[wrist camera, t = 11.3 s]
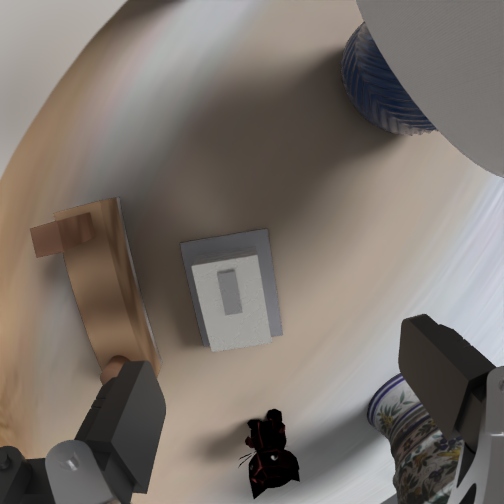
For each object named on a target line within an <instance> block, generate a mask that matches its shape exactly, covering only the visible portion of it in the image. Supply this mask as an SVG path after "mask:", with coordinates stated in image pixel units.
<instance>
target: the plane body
mask: <svg viewBox="0 0 504 504" xmlns="http://www.w3.org/2000/svg"><path fill="white" fill-rule="evenodd" d="M54 217H55V222H51V223H48V224H44V225H41V226H38V227H34V228H31V229H30V231H31V236H32V240H33V245H34V249H35V253H36V257H37V258H38V257H43V256H47V255H52V254H56V253H61V252H62V253H63V256H64V260H65V264H66V268H67V272H68V275H69V279H70V282H71V286H72V289H73V292H74V296H75V299H76V302H77V305H78V308H79V311H80V314H81V317H82V320H83V323H84V326H85V329H86V331H87V334H88V337H89V339H90V342H91V345H92V347H93V350H94V352H95V355H96V357H97V360H98V362H99V365H100V367H101V370H102V373H101V376H100V380H101V383H102V384H103V385H104V384H106V383H107V382H108V381H109V380H110V379H111V378H112V377H117V375H118V373H119V372H120V370H121V368H122V366H123V364H124V363H125V362H128V361H145V360H148V361H149V362H150V363H151V365H152V367H153V370H154V373H155V376H156V378H157V376H158V373H159V371H160V368H161V365H162V361H161V358H160V355H159V352H158V349H157V346H156V342H155V339H154V336H153V333H152V330H151V326H150V323H149V320H148V316H147V313H146V309H145V306H144V302H143V299H142V295H141V291H140V288H139V284H138V280H137V276H136V272H135V268H134V264H133V260H132V256H131V252H130V247H129V243H128V238H127V234H126V229H125V224H124V220H123V215H122V209H121V204H120V199H119V197H116V198H111V199H106V200H101V201H96V202H93V203H89V204H85V205H81V206H78V207H74V208H70V209H67V210H63V211H60V212H56V213H54Z"/></svg>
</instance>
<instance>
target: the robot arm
mask: <svg viewBox="0 0 504 504" xmlns="http://www.w3.org/2000/svg"><path fill="white" fill-rule="evenodd" d="M398 363H399V369H400V372H401V375H402V376H403V378H404V379H405V381H406V382H407V384H408V385H409V386H410V388H411V389H412V391H413V392H414V393H415V395H416V396H417V398H418V399H419V400H420V402H421V403H422V405H423V406H424V408H425V409H426V410H427V412H428V413H429V415H430V416H431V418H432V419H433V421H434V422H435V424H436V425H437V426H438V428H439V429H440V431H441V432H442V434H443V435H444V437H445V438H446V440H447V441H450V440H452V439H454V438H457V437H459V436H462V438H463V439H464V441H463V443H462V446H461V450H460V456H459V461H458V466H457V471H456V475H455V479H454V483H453V488H452V491H451V495H450V498H449V500H448V503H447V504H504V366H500V367H496V366H494V365H493V364H492V363H491V362H490V361H489V360H488V359H487V358H486V357H485V356H483V355H482V354H481V353H480V352H479V351H478V350H477V349H476V348H474V347H473V346H471V345H470V343H469V342H468V341H466V340H465V339H464V340H463V337H462V336H461V335H459V334H458V333H457V332H456V331H455V330H454V329H451V328H449V327H446V326H444V325H442V324H439V325H438V324H437V323H436V322H435V321H434V320H433V319H431V318H430V317H429V316H428V315H427V314H421V315H417V316H414V317H410V318H406V319H404V320H403V321H402V325H401V336H400V347H399V358H398ZM165 415H166V404H165V399H164V396H163V394H162V391H161V389H160V386H159V383H158V381H157V378H156V376H155V373H154V370H153V367H152V365H151V363H150V362H149V361H148V360H145V361H128V362H125V363H124V364H123V366H122V368H121V370H120V372H119V373H118V375H117V377H112V378H111V379H110V380H109V381H108V382H107V383H106V384H104V385H103V386H102V387H101V389H100V391H99V393H98V395H97V397H96V400H94V402H93V404H92V406H91V409H90V410H89V412H88V413H87V415H86V417H85V419H84V421H83V423H82V425H81V427H80V429H79V431H78V433H77V435H76V437H75V439H74V440H67V441H64V442H61V443H59V444H57V445H55V446H54V447H53V448H52V449H51V450H50V451H49V453H48V454H47V456H46V458H39V459H25V457H24V456H23V455H22V454H21V452H20V451H19V450H18V449H17V448H15V447H13V446H4V447H0V504H132V502H131V497H132V493H144V494H147V491H148V486H149V482H150V477H151V473H152V469H153V464H154V460H155V456H156V452H157V448H158V444H159V439H160V435H161V431H162V427H163V423H164V419H165Z"/></svg>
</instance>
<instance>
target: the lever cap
mask: <svg viewBox="0 0 504 504" xmlns="http://www.w3.org/2000/svg"><path fill="white" fill-rule="evenodd" d="M191 267H192V271H193V276H194V280H195V285H196V289H197V293H198V298H199V302H200V306H201V310H202V315H203V319H204V323H205V327H206V331H207V335H208V339H209V343H210V346H211V350H212V352H215V351H222V350H229V349H236V348H243V347H250V346H256V345H262V344H268V343H272V341H271V335H270V328H269V322H268V316H267V310H266V304H265V298H264V292H263V286H262V280H261V274H260V268H259V262H258V256H257V251H256V247H255V246H250V247H244V248H238V249H232V250H226V251H221V252H215V253H209V254H203V255H197V257H196V258H195V260H194V262H193V264H192V266H191Z"/></svg>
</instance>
